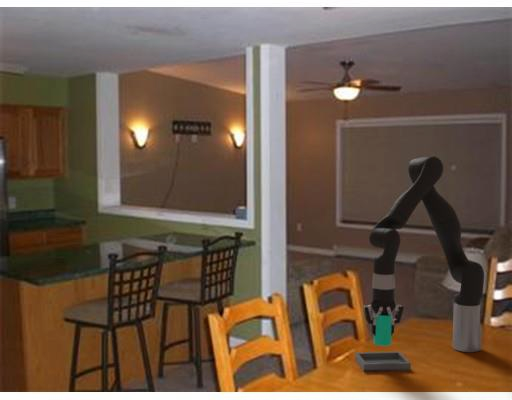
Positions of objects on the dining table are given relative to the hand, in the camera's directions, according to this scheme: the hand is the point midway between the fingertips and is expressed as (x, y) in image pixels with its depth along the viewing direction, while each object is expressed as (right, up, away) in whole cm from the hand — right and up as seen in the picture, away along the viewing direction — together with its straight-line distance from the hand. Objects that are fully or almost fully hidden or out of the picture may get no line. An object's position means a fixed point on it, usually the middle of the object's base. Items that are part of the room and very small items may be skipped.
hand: (382, 334), depth 214 cm
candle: (0, -3, 0) cm, 3 cm away
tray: (0, -10, +1) cm, 11 cm away
